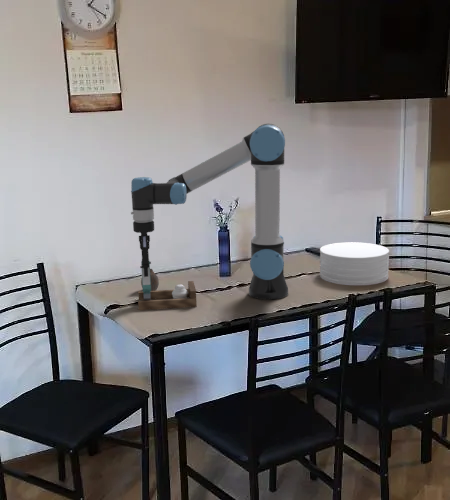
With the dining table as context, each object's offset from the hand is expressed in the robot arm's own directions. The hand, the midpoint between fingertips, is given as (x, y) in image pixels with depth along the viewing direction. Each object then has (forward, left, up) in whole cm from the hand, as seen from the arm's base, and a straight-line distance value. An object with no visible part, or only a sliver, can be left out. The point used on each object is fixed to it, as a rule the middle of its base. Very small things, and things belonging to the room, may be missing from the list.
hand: (146, 283), depth 255 cm
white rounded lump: (-8, -9, -8) cm, 15 cm away
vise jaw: (0, 0, -8) cm, 8 cm away
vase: (+12, -12, -8) cm, 19 cm away
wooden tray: (-5, -6, -8) cm, 11 cm away
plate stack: (-38, -80, -8) cm, 89 cm away
